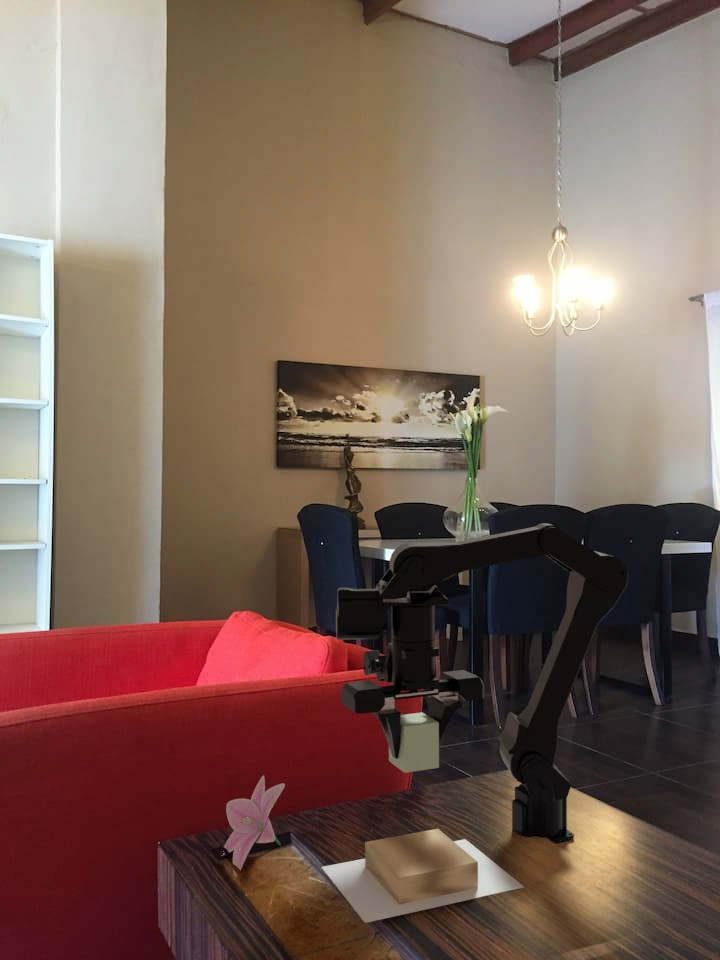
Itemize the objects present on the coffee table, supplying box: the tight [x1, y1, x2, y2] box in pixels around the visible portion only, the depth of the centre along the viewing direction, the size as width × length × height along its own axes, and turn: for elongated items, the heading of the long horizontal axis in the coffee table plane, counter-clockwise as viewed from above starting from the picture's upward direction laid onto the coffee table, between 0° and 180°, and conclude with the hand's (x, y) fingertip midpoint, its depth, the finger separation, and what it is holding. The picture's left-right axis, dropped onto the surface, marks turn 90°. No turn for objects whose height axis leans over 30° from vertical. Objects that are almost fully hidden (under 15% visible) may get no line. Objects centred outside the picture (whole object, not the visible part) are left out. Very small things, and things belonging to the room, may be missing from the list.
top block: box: [388, 711, 440, 774], centre depth 116 cm, size 5×5×6 cm
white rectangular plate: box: [320, 838, 525, 924], centre depth 104 cm, size 20×14×1 cm
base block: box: [364, 828, 478, 905], centre depth 104 cm, size 10×10×3 cm
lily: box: [221, 775, 286, 878], centre depth 111 cm, size 12×12×10 cm
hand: (413, 755), depth 116 cm, fingers closed on top block, 5 cm apart
